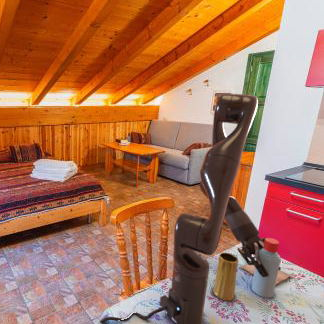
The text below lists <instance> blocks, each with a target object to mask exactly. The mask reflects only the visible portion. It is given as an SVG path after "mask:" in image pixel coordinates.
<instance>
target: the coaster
mask: <svg viewBox="0 0 324 324" xmlns="http://www.w3.org/2000/svg"><path fill="white" fill-rule="evenodd" d="M240 269H241V270H244V271H245V272H247V273H248V274H250V275H251V276H254V271H255V266H253V265H248V264H247V263H246V264H245V265H243V266H241V268H240ZM290 278H291V275H290V274H288V273H285V272H283V271H282V270H279V271H278V275H277V280H276V285H275V286H277V285H279V284H280V283H283V282H285V281H286V280H289V279H290Z"/></svg>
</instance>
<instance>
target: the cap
mask: <svg viewBox="0 0 324 324" xmlns="http://www.w3.org/2000/svg"><path fill="white" fill-rule="evenodd" d="M264 238H265V237H264ZM279 246H280V242H279V241H278V240H277V239H276V238H272V237H267V238H265V241H264V246H263V248H264V249H265V250H266V251H269V252H273V253H276V252H277V253H278V251H279Z"/></svg>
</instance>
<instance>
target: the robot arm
mask: <svg viewBox="0 0 324 324" xmlns="http://www.w3.org/2000/svg"><path fill="white" fill-rule="evenodd" d="M258 102H259V101H258V98H257V97H256V95H251V94H243V93H242V94H241V93H227V92H226V93H225V92H224V93H222V94H220V95H219V97H218V99H217V100H216V103H215V107H214V112H213V120H212V121H213V122H212V133H211V134H212V136H211V148H210V149H208V150H207V152H206V153H205V155H204V158H203V161H202V164H201V166H200V171H199V176H200V182H199V188H200V191H201V193H202V194H203V195H204V196H205V198H207V199H208V203H209V207H210V213H209V218H206V217H201V216H199V215H195V214H191V213H188V212H183V213H181V214H180V215H178V217H176V218H177V219H176V221H175V224H174V228H173V229H174V230H173V252H172V253H173V255H172V259H173V265H172V276H171V288H169V289H168V295H166V294H163V295H162V296H160V297H159V306H160V307H159V308H157V309H154V310H153V311H151V312H149V313H148V314H147V315H143V314H141V313H139V312H137V311H135V312H136V313H133V314H132V315H131V316H130V317H129V318H127V319H124V320H121V319H122V318H123V317H116V316H106V317H104V318H102V319H101V320H100V321H99V323H100V324H104V323H105V322H108V321H115V322H127V321H129V320H130V319H131V318H132V317H134V316H137V317H138V318H140V319H143V320H149V319H151V318H152V317H153V316H154V315H156V314H158V313H161V312H164V311H165V312H166V316H167V317H168V318H169V319H170V320H171V321H172V322H173V323H174V324H203V323H204V313H205V312H204V311H205V305H206V297H207V288H208V281H209V275H210V274H209V273H210V264H209V261H208V260H207V258H206V257H205V256H213V255H214V254H215V252H216V251H217V249H218V247H219V243H220V240H221V236H222V232H223V228H224V221H225V223H226V225H227V227H228V228H229V230H230V231H231V233H232V235H233V237H234V238H235V240H236V241H237V242H240V243H241V246H240V247H237V249H236V250H237V251H238V253H239V254H240V255H241V257H242V258H243V259H244V261H245V263H246V265H247V264H248V265H253V266H255V267H256V269H257V270H258V272H259V274H260V275H261V276H262V277H267V276H269V274H268V272H267V271H266V269H265V268H264V266H263V264H261V261H260V258H259V257H260V256H259V255H260V254H259V250H261V249H263V246H264V241H265V238H268V237H266V236H265V237H262V238H261V237H260V236H259V235H260V231H259V230H258V228H257V226H256V225H255V224H254V222H253V221H252V219H251V217H250V216H249V215H248V213H246V211H245V210H244V209H243V207H242V206H241V204H240V203H239V201H238V200H237V199H236V198H235V196H231V194H232V191H233V187H234V184H235V181H236V178H237V175H238V171H239V168H240V164H241V160H242V156H243V152H244V148H245V143H246V140H247V138H248V134H249V132H250V129H251V127H252V124H253V121H254V118H255V116H256V113H257V109H258V104H259V103H258ZM225 123H226V124H235V125H236V126H235V128H234V129H233V130H232V132H230V133H229V134H228V135H226V132H225V129H224V127H225V126H224V124H225ZM202 254H203V255H205V256H203V255H202ZM281 269H282V268H281V265H279V270H280V271H282V270H281ZM279 270H278V271H279ZM131 313H132V312H130V313H129V314H128V315H127V316H126V317H128V316H129V315H130V314H131ZM118 320H120V321H118Z"/></svg>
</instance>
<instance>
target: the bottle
mask: <svg viewBox="0 0 324 324" xmlns="http://www.w3.org/2000/svg"><path fill="white" fill-rule="evenodd" d="M259 254H260V255H259V256H260V257H259V258H260V261H261V264H263V266H264V268H265V269H266V271H267V272H268V274H269V276H267V277H262V276H261V275H260V274H259V272H258V270H257V269H256V267H255V271H254V275H252V276H253V277H252V282H251V290H252V291H253V293H255V294H256V295H258V296H259V297H263V298H268V299H271V298H273V297H274V295H275V294H274V293H275V289H276V286H277V285H276V280H277V275H278V270H279V266H281V260H282V259H281V256H280V254H279V253H278V251H277V252H276V253H273V252H269V251H266V250H265V249H264V248H263V249H261V250H259Z"/></svg>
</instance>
